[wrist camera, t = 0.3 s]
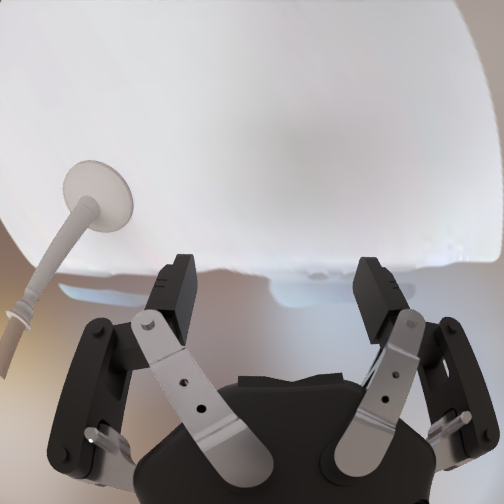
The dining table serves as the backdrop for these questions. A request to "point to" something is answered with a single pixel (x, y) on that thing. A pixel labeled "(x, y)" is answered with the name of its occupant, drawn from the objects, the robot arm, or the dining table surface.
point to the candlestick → (70, 237)
